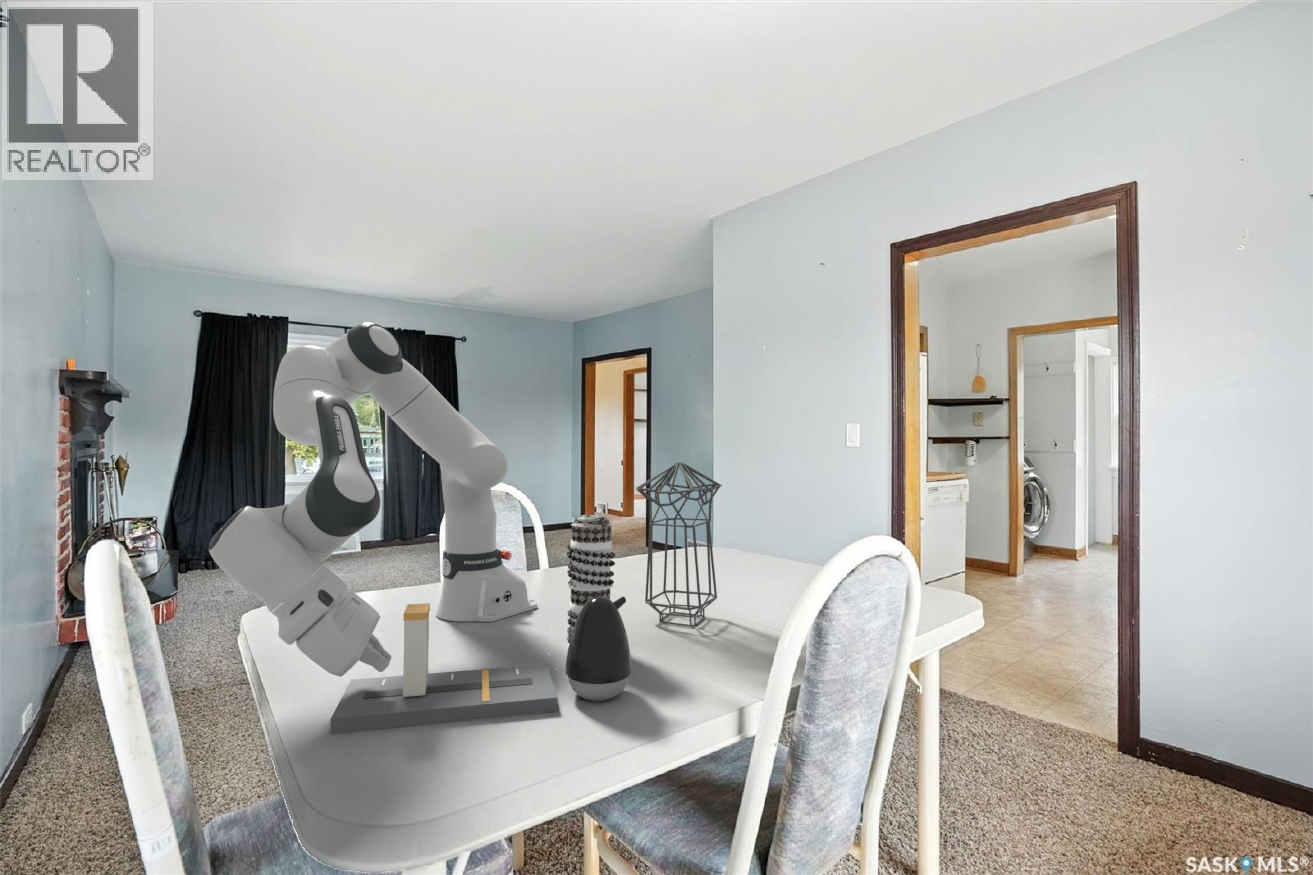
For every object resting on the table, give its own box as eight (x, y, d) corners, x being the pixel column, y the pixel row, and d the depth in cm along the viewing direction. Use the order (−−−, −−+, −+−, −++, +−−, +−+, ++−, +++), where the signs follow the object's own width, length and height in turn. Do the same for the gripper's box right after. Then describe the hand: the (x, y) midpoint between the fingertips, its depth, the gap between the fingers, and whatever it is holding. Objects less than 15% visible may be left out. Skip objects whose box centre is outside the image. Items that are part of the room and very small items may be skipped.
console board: (330, 733, 84) (330, 717, 85) (350, 692, 98) (351, 678, 98) (556, 711, 93) (556, 696, 93) (546, 676, 106) (547, 663, 106)
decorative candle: (555, 646, 121) (557, 515, 121) (592, 636, 127) (595, 512, 127) (585, 659, 114) (587, 520, 114) (623, 647, 121) (625, 516, 121)
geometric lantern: (701, 635, 130) (699, 464, 130) (633, 625, 137) (631, 463, 137) (727, 615, 144) (725, 461, 144) (664, 607, 151) (662, 460, 151)
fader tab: (402, 697, 91) (403, 613, 91) (406, 683, 96) (407, 604, 96) (425, 695, 92) (427, 612, 92) (428, 681, 97) (429, 603, 97)
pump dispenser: (645, 694, 99) (646, 597, 99) (593, 714, 92) (594, 609, 92) (603, 676, 106) (605, 585, 106) (552, 693, 99) (553, 595, 99)
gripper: (314, 598, 100) (380, 656, 102) (274, 642, 80) (357, 711, 83) (346, 569, 101) (410, 627, 104) (314, 605, 81) (395, 675, 84)
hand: (387, 665), depth 93 cm, fingers closed
